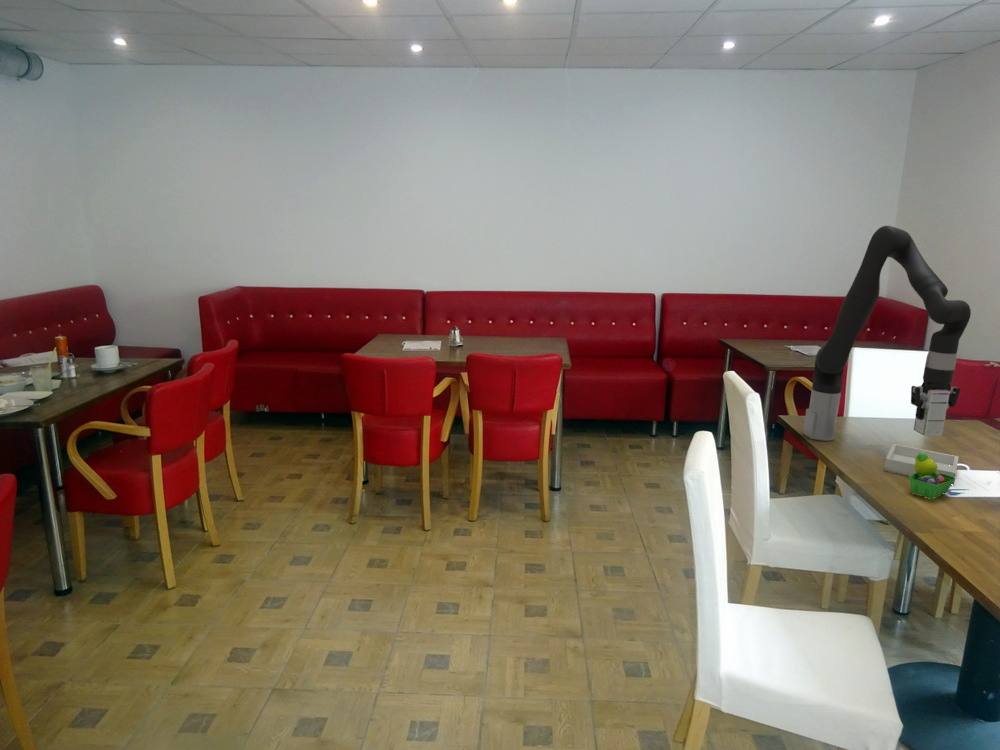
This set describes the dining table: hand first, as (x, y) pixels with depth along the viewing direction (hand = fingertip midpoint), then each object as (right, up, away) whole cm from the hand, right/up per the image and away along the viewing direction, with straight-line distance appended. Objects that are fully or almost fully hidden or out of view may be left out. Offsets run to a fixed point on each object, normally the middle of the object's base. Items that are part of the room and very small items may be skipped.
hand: (930, 419), depth 200 cm
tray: (-1, -16, +4) cm, 16 cm away
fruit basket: (-10, -20, -14) cm, 27 cm away
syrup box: (0, -5, +1) cm, 5 cm away
